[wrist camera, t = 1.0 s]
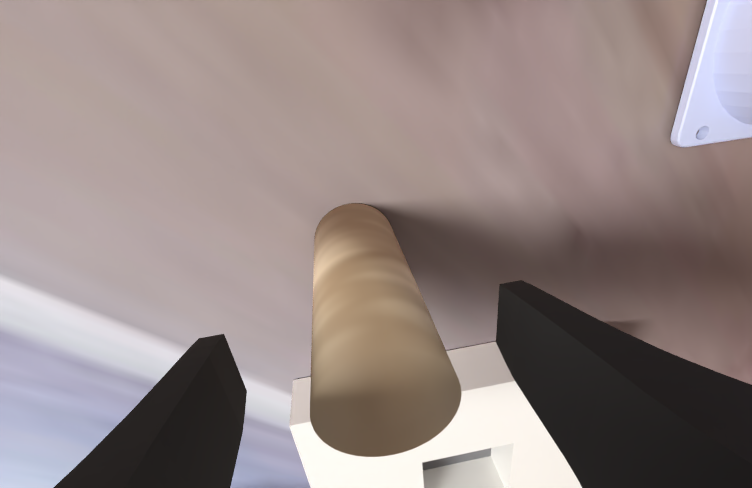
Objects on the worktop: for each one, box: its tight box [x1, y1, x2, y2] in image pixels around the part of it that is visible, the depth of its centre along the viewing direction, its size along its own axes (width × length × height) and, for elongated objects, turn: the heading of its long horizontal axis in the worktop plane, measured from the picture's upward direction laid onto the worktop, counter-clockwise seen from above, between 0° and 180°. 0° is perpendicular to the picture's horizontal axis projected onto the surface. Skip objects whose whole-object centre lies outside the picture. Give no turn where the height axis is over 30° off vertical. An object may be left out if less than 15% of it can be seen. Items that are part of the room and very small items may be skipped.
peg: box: [310, 203, 462, 457], centre depth 11 cm, size 3×3×8 cm
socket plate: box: [289, 342, 582, 488], centre depth 20 cm, size 16×14×2 cm
